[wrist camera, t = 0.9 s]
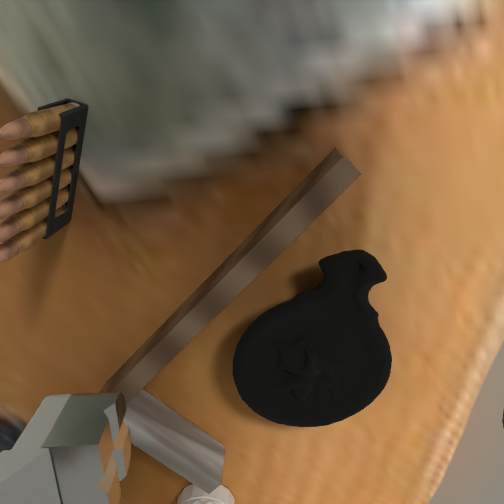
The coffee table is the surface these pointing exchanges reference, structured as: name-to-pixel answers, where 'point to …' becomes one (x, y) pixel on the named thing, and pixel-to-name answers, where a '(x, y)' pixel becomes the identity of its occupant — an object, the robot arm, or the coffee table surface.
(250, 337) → the oil lamp
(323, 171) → the bracket
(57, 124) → the ammunition clip
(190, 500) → the white cup
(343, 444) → the coffee table surface
